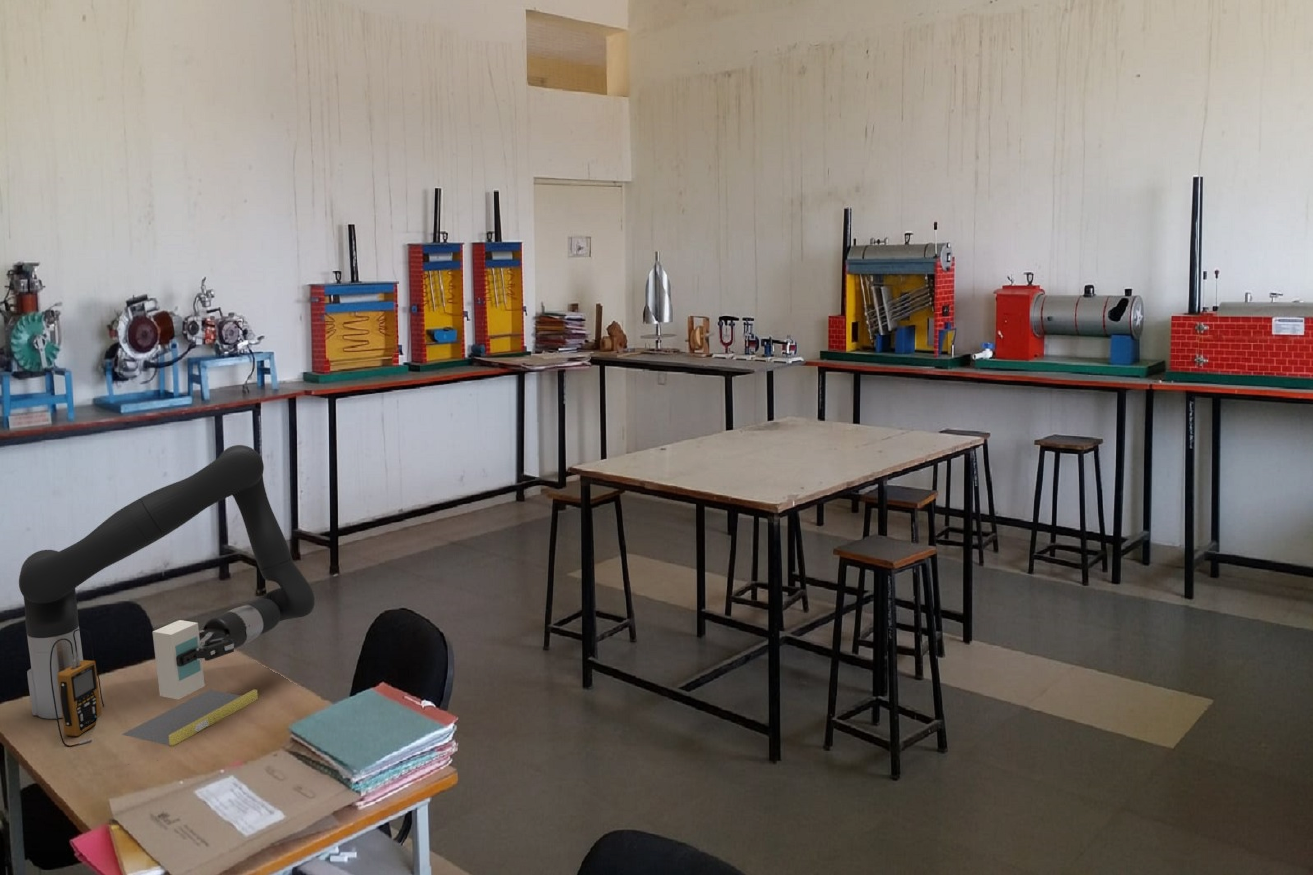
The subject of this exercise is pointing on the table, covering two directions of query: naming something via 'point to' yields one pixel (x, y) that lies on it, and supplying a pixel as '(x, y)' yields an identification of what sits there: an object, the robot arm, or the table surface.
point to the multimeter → (78, 694)
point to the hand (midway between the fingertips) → (167, 659)
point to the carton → (167, 648)
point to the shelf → (191, 717)
